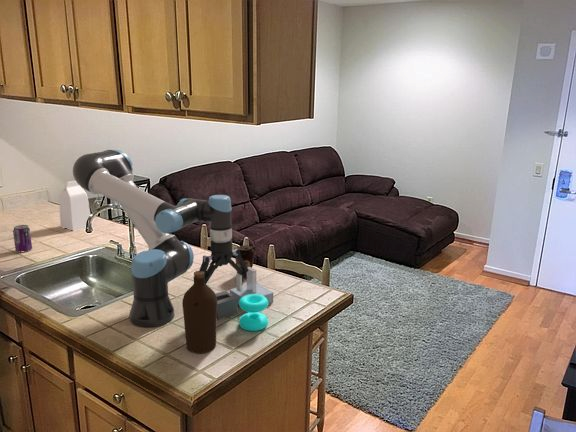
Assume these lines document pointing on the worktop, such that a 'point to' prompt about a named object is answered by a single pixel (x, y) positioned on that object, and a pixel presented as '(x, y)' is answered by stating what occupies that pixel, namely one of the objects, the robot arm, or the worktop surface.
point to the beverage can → (22, 238)
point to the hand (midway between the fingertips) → (223, 295)
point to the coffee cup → (246, 256)
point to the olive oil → (200, 315)
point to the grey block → (226, 305)
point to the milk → (73, 206)
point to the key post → (251, 280)
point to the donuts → (253, 312)
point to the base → (259, 290)
